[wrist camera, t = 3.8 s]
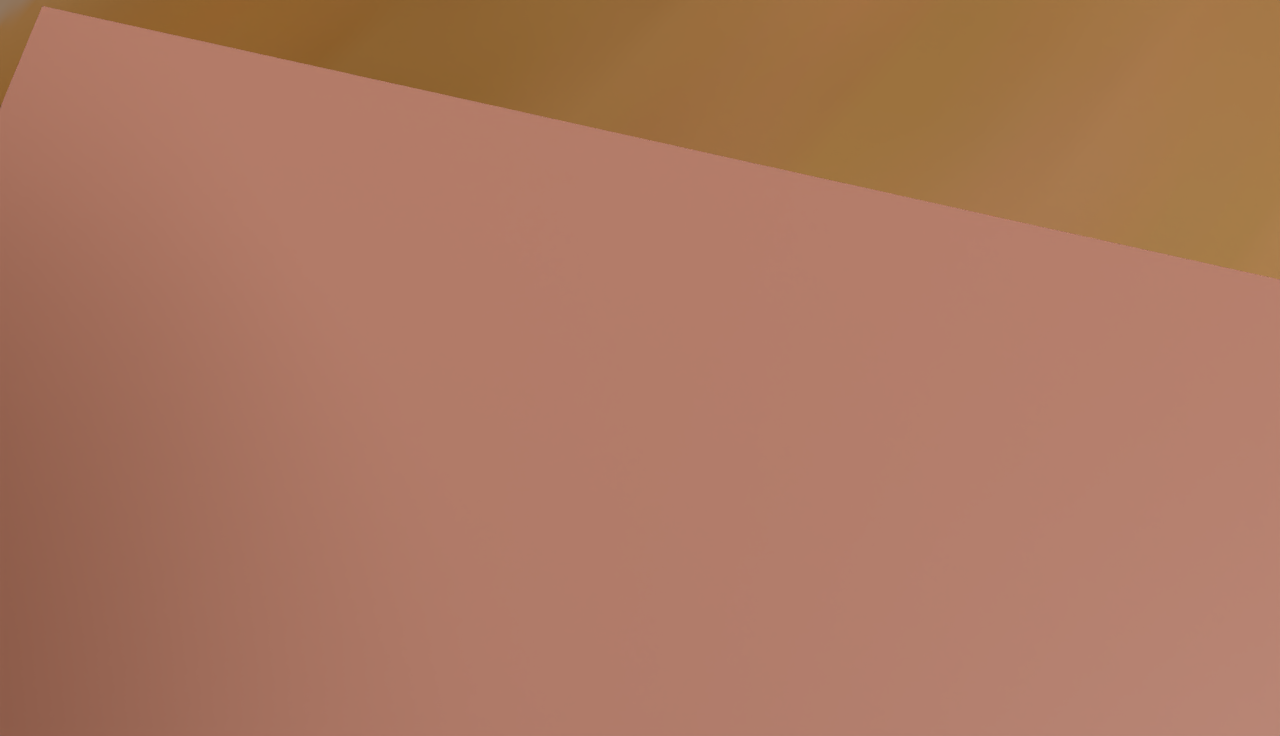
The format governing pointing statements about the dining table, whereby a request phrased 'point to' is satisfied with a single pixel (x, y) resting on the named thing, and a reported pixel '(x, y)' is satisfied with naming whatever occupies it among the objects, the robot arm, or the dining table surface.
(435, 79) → the dining table surface
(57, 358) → the tall brick
